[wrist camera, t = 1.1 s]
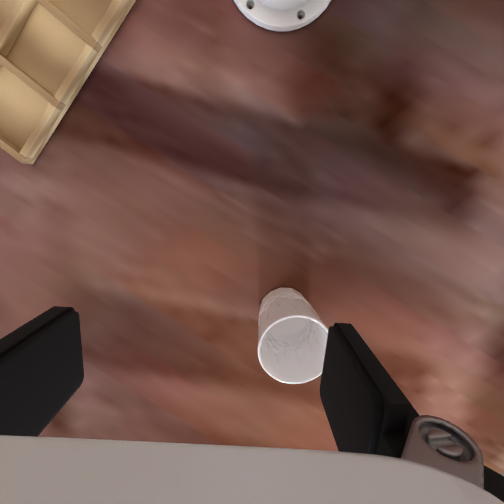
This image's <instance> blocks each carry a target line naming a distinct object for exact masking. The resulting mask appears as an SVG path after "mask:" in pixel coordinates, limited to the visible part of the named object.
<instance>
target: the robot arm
mask: <svg viewBox="0 0 504 504" xmlns="http://www.w3.org/2000/svg"><path fill="white" fill-rule="evenodd" d="M330 1H331V0H234V2H235V4H236V5H237V7H238V8H239V10H240V11H241V12H242V13H243V14H244V15H245V16H246V17H247V18H248V19H249V20H251V21H252V22H254V23H255V24H256V25H258V26H260V27H263V28H265V29H268V30H273V31H291V30H296V29H299V28H301V27H303V26H306V25H308V24H309V23H311V22H312V21H313V20H315V19H316V18H317V17H319V15H320V14H321V13H322V12H323V11H324V10H325V9H326V8H327V6H328V4H329V3H330ZM248 8H252V9H248ZM298 18H301V19H298ZM83 378H84V369H83V357H82V345H81V333H80V321H79V314H78V312H75V310H74V309H73V308H72V307H57V306H54V307H52V308H50V309H49V310H47V311H46V312H44V313H42V314H41V315H39V316H37V317H36V318H34V319H33V320H31V321H29V322H28V323H26V324H24V325H23V326H21V327H20V328H18V329H16V330H15V331H13V332H11V333H10V334H8V335H6V336H5V337H3V338H2V339H0V504H504V477H503V476H502V475H500V474H498V473H497V472H495V471H493V470H491V469H490V468H488V467H486V466H484V461H483V455H482V451H481V449H480V448H479V446H478V445H477V443H476V442H475V441H474V440H473V439H472V438H471V437H470V436H469V435H468V434H467V433H466V432H464V431H463V430H462V429H460V428H459V427H457V426H456V425H454V424H452V423H450V422H449V421H446V420H444V419H441V418H439V417H434V416H430V415H421V416H419V414H418V413H417V412H416V410H415V409H414V408H413V406H412V405H411V403H410V402H409V401H408V399H407V398H406V397H405V395H404V394H403V393H402V391H401V390H400V389H399V387H398V386H397V385H396V383H395V382H394V381H393V379H392V378H391V377H390V375H389V374H388V373H387V371H386V370H385V369H384V367H383V366H382V365H381V363H380V362H379V361H378V359H377V358H376V357H375V355H374V354H373V352H372V351H371V350H370V348H369V347H368V346H367V344H366V343H365V342H364V340H363V339H362V338H361V336H360V335H359V334H358V332H357V331H356V330H355V328H354V327H353V326H352V325H351V324H346V323H335V324H334V326H333V327H332V326H330V327H329V330H328V336H327V343H326V350H325V357H324V363H323V370H322V377H321V384H320V397H321V400H322V403H323V406H324V409H325V412H326V415H327V418H328V421H329V424H330V427H331V430H332V433H333V436H334V439H335V441H336V444H337V447H338V450H339V451H326V450H307V449H288V448H268V447H249V446H230V445H208V444H186V443H165V442H144V441H122V440H99V439H78V438H56V437H37V436H38V435H39V434H40V433H41V432H42V431H43V429H44V428H45V427H46V426H47V425H48V423H49V422H50V421H51V420H52V419H53V418H54V416H55V415H56V414H57V413H58V412H59V410H60V409H61V408H62V407H63V406H64V405H65V403H66V402H67V401H68V400H69V399H70V397H71V396H72V395H73V394H74V393H75V392H76V390H77V389H78V388H79V387H80V385H81V384H82V382H83Z"/></svg>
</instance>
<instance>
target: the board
mask: <svg viewBox="0 0 504 504" xmlns="http://www.w3.org/2000/svg"><path fill="white" fill-rule="evenodd" d="M135 2H136V0H0V147H1V148H2V149H3V150H5V151H6V152H8V153H9V154H10V155H12V156H13V157H14V158H16V159H17V160H18V161H20V162H21V163H27V164H34V162H35V161H36V159H37V157H38V156H39V154H40V153H41V151H42V149H43V148H44V146H45V145H46V143H47V142H48V140H49V138H50V137H51V135H52V134H53V132H54V130H55V129H56V127H57V126H58V124H59V122H60V121H61V119H62V118H63V116H64V114H65V113H66V111H67V110H68V108H69V107H70V105H71V103H72V102H73V100H74V99H75V97H76V95H77V94H78V92H79V91H80V89H81V87H82V86H83V84H84V83H85V81H86V79H87V78H88V76H89V75H90V73H91V72H92V70H93V68H94V67H95V65H96V64H97V62H98V60H99V59H100V57H101V56H102V54H103V52H104V51H105V49H106V48H107V46H108V44H109V43H110V41H111V40H112V38H113V37H114V35H115V33H116V32H117V30H118V29H119V27H120V25H121V24H122V22H123V21H124V19H125V17H126V16H127V14H128V13H129V11H130V10H131V8H132V6H133V5H134V3H135Z"/></svg>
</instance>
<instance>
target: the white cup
mask: <svg viewBox="0 0 504 504" xmlns="http://www.w3.org/2000/svg"><path fill="white" fill-rule="evenodd" d="M327 336H328V329H327V327H326V326H325V324H324V323H323V321H322V320H321V319H320V317H319V316H318V314H317V313H316V311H315V310H314V309H313V307H312V306H311V305H310V303H309V302H308V301H306V299H305V298H304V297H303V295H302V294H301V293H300V292H298V291H296V290H294V289H292V288H281V287H280V288H278V289H275V290H273V291H270V292H269V293H268V294H267V295H266V296H265V297H264V298H263V299H262V303H261V306H260V309H259V320H258V357H259V361H260V363H261V365H262V367H263V369H264V370H265V371H266V372H267V373H268V374H269V375H270V376H271V377H273V378H274V379H276V380H278V381H281V382H284V383H289V384H300V383H305V382H308V381H311V380H313V379H315V378H317V377H318V376H320V375H321V374H322V370H323V363H324V357H325V350H326V343H327Z"/></svg>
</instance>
